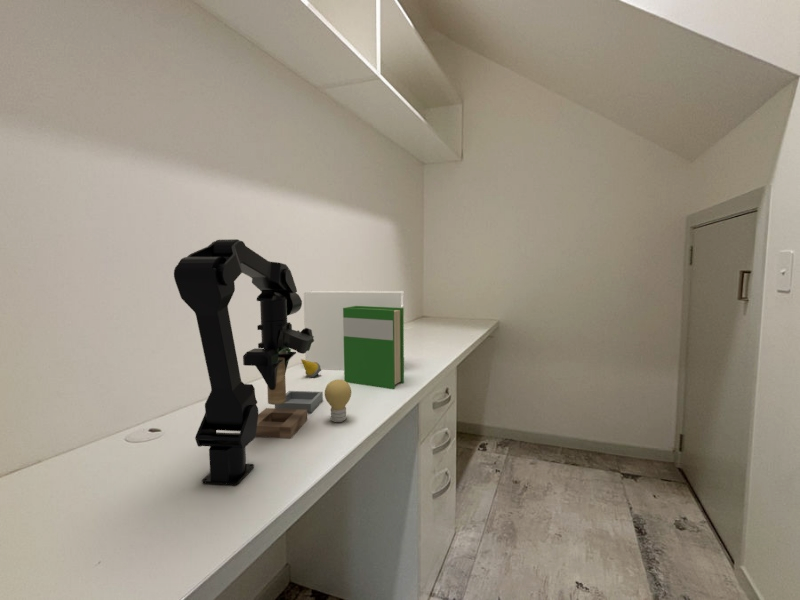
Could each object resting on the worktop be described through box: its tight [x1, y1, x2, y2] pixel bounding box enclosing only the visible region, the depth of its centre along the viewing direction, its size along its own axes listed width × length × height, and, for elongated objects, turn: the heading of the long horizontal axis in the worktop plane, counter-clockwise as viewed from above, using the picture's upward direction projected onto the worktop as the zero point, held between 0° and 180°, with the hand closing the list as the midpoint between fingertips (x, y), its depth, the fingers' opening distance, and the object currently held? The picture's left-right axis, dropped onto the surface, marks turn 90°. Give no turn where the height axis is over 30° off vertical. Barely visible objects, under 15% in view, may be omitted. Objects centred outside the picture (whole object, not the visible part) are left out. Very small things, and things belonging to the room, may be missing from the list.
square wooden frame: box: [255, 407, 308, 439], centre depth 92 cm, size 10×10×2 cm
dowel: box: [266, 357, 287, 406], centre depth 91 cm, size 4×4×10 cm
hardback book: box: [343, 306, 405, 390], centre depth 126 cm, size 18×7×24 cm, turn 64°
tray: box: [274, 390, 324, 414], centre depth 106 cm, size 10×10×2 cm
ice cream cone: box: [300, 358, 322, 378], centre depth 133 cm, size 5×5×10 cm
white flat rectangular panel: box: [303, 290, 405, 372], centre depth 143 cm, size 35×8×28 cm, turn 81°
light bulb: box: [324, 379, 352, 423], centre depth 96 cm, size 6×6×10 cm
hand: (276, 386), depth 91 cm, fingers closed on dowel, 4 cm apart
